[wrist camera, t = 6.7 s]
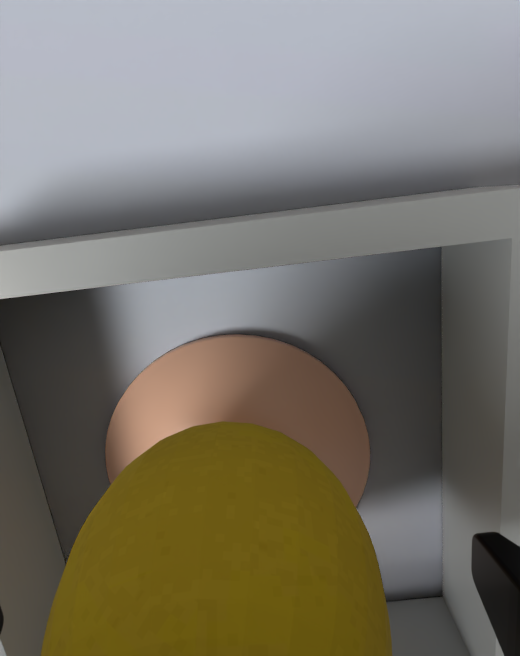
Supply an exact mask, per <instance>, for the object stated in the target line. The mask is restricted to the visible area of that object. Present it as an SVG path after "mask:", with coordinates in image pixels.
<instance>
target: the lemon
mask: <svg viewBox="0 0 520 656" xmlns="http://www.w3.org/2000/svg"><path fill="white" fill-rule="evenodd" d="M41 656H392V640H391V631H390V622H389V615H388V609H387V604H386V598H385V593H384V588H383V584H382V579H381V574H380V569H379V564H378V561H377V557H376V553H375V550H374V546H373V544H372V541H371V538H370V536H369V533H368V531H367V529H366V527H365V525H364V523H363V521H362V519H361V517H360V515H359V513H358V511H357V509H356V508H355V506H354V504H353V502H352V500H351V499H350V497H349V495H348V493H347V491H346V490H345V488H344V486H343V485H342V483H341V482H340V480H339V479H338V478H337V477H336V476H335V475H334V473H333V472H332V471H331V470H330V469H329V468H328V467H327V466H326V465H325V464H324V463H323V462H322V461H321V460H320V459H319V458H318V457H317V456H316V455H315V454H314V453H313V452H312V451H311V450H309V449H308V448H307V447H305V446H304V445H302V444H300V443H298V442H297V441H295V440H293V439H292V438H290V437H288V436H287V435H285V434H283V433H281V432H279V431H276V430H272V429H269V428H266V427H262V426H259V425H256V424H253V423H239V422H225V421H222V422H216V423H210V424H203V425H197V426H192V427H190V428H188V429H185V430H183V431H180V432H178V433H175V434H173V435H171V436H168V437H166V438H164V439H162V440H160V441H159V442H157V443H156V444H155V445H153V446H152V447H151V448H149V449H148V450H147V451H145V452H144V453H142V454H141V455H140V456H138V457H137V458H136V459H135V460H133V461H132V462H131V463H130V464H129V465H127V466H126V467H125V468H124V470H123V471H122V472H121V473H120V474H119V475H118V476H117V478H116V479H115V480H114V482H113V483H112V484H111V485H110V487H109V488H108V489H107V491H106V492H105V493H104V495H103V496H102V497H101V499H100V500H99V501H98V503H97V504H96V505H95V507H94V508H93V510H92V511H91V513H90V514H89V515H88V517H87V519H86V521H85V522H84V524H83V526H82V528H81V529H80V531H79V534H78V536H77V538H76V540H75V543H74V545H73V547H72V550H71V552H70V555H69V558H68V561H67V563H66V566H65V569H64V572H63V574H62V577H61V580H60V583H59V586H58V588H57V591H56V594H55V597H54V600H53V603H52V607H51V611H50V614H49V618H48V621H47V626H46V630H45V635H44V640H43V644H42V650H41Z"/></svg>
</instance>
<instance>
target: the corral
mask: <svg viewBox="0 0 520 656" xmlns="http://www.w3.org/2000/svg"><path fill="white" fill-rule="evenodd" d="M433 247H441V255H442V533H443V597H434V598H424V599H414V600H403V601H393V602H386V604H387V609H388V615H389V622H390V631H391V640H392V656H504V654H503V652H502V649H501V647H500V644H499V642H498V640H497V637H496V635H495V632H494V630H493V627H492V625H491V623H490V620H489V618H488V615H487V613H486V611H485V608H484V606H483V603H482V601H481V598H480V596H479V594H478V591H477V589H476V586H475V584H474V581H473V577H472V572H471V555H472V537H473V535H474V534H476V533H483V532H497V533H500V534H501V535H503V536H504V537H506V538H507V539H509V540H510V541H512V542H513V543H515V544H517V545H518V546H520V185H505V186H486V187H472V188H464V189H456V190H448V191H440V192H432V193H423V194H415V195H407V196H399V197H391V198H383V199H375V200H366V201H358V202H350V203H342V204H334V205H326V206H318V207H309V208H301V209H293V210H285V211H277V212H269V213H261V214H252V215H244V216H236V217H228V218H220V219H212V220H203V221H195V222H187V223H179V224H171V225H163V226H155V227H146V228H138V229H130V230H122V231H114V232H106V233H98V234H89V235H81V236H73V237H65V238H57V239H49V240H41V241H32V242H24V243H16V244H8V245H0V299H5V298H13V297H22V296H30V295H38V294H47V293H55V292H64V291H72V290H80V289H89V288H97V287H105V286H114V285H122V284H131V283H139V282H147V281H156V280H164V279H173V278H181V277H189V276H198V275H206V274H215V273H223V272H231V271H240V270H248V269H257V268H265V267H273V266H282V265H290V264H299V263H307V262H315V261H324V260H332V259H341V258H349V257H357V256H366V255H374V254H382V253H391V252H399V251H408V250H416V249H424V248H433ZM222 421H225V422H239V423H253V424H256V425H259V426H262V427H266V428H269V429H272V430H276V431H279V432H281V433H283V434H285V435H287V436H288V437H290V438H292V439H293V440H295V441H297V442H298V443H300V444H302V445H304V446H305V447H307V448H308V449H309V450H311V451H312V452H313V453H314V454H315V455H316V456H317V457H318V458H319V459H320V460H321V461H322V462H323V463H324V464H325V465H326V466H327V467H328V468H329V469H330V470H331V471H332V472H333V473H334V475H335V476H336V477H337V478H338V479H339V480H340V482H341V483H342V485H343V486H344V488H345V490H346V491H347V493H348V495H349V497H350V499H351V500H352V502H353V504H354V506H355V508H356V507H357V505H358V503H359V501H360V499H361V497H362V495H363V492H364V489H365V486H366V482H367V479H368V473H369V467H370V445H369V437H368V432H367V429H366V425H365V422H364V419H363V417H362V414H361V412H360V410H359V408H358V406H357V403H356V401H355V399H354V398H353V396H352V395H351V393H350V392H349V390H348V389H347V387H346V386H345V384H344V383H343V382H342V381H341V380H340V379H339V378H338V376H337V375H336V374H335V373H334V372H333V371H332V370H330V369H329V368H328V367H327V366H326V365H325V364H324V363H322V362H321V361H319V360H318V359H316V358H315V357H313V356H312V355H310V354H309V353H307V352H305V351H303V350H301V349H299V348H297V347H295V346H293V345H290V344H287V343H284V342H281V341H278V340H275V339H271V338H266V337H261V336H255V335H242V334H233V335H218V336H213V337H207V338H202V339H199V340H195V341H192V342H189V343H186V344H183V345H181V346H179V347H177V348H175V349H173V350H171V351H169V352H167V353H165V354H164V355H162V356H161V357H159V358H158V359H156V360H154V361H153V362H152V363H151V364H150V365H149V366H147V367H146V368H145V369H144V370H143V371H142V372H141V373H140V374H139V375H138V376H137V377H136V378H135V379H134V381H133V382H132V383H131V384H130V385H129V387H128V388H127V390H126V391H125V393H124V394H123V396H122V397H121V399H120V401H119V402H118V404H117V406H116V408H115V411H114V413H113V415H112V417H111V421H110V424H109V428H108V431H107V438H106V445H105V460H106V468H107V474H108V479H109V482H110V485H111V484H112V483H113V482H114V480H115V479H116V478H117V476H118V475H119V474H120V473H121V472H122V471H123V470H124V468H125V467H126V466H127V465H129V464H130V463H131V462H132V461H133V460H135V459H136V458H137V457H138V456H140V455H141V454H142V453H144V452H145V451H147V450H148V449H149V448H151V447H152V446H153V445H155V444H156V443H157V442H159V441H160V440H162V439H164V438H166V437H168V436H171V435H173V434H175V433H178V432H180V431H183V430H185V429H188V428H190V427H192V426H197V425H203V424H210V423H216V422H222ZM65 566H66V563H65V560H64V557H63V553H62V550H61V547H60V543H59V540H58V537H57V533H56V530H55V527H54V523H53V520H52V516H51V513H50V510H49V506H48V503H47V500H46V496H45V493H44V490H43V486H42V483H41V480H40V476H39V473H38V470H37V466H36V463H35V460H34V456H33V453H32V450H31V446H30V443H29V440H28V436H27V433H26V430H25V426H24V423H23V419H22V416H21V413H20V409H19V406H18V403H17V399H16V396H15V393H14V389H13V386H12V383H11V379H10V376H9V373H8V369H7V366H6V363H5V359H4V356H3V353H2V349H1V346H0V606H1V608H2V611H3V615H4V624H3V628H2V632H1V634H0V656H41V650H42V644H43V640H44V635H45V630H46V626H47V621H48V618H49V614H50V611H51V607H52V603H53V600H54V597H55V594H56V591H57V588H58V586H59V583H60V580H61V577H62V574H63V572H64V569H65Z"/></svg>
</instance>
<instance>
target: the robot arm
mask: <svg viewBox="0 0 520 656" xmlns="http://www.w3.org/2000/svg"><path fill="white" fill-rule="evenodd" d="M471 572H472V577H473V581H474V584H475V586H476V589H477V591H478V594H479V596H480V598H481V601H482V603H483V606H484V608H485V611H486V613H487V615H488V618H489V620H490V623H491V625H492V627H493V630H494V632H495V635H496V637H497V640H498V642H499V644H500V647H501V649H502V652H503V654H504V656H520V546H518V545H517V544H515V543H513V542H512V541H510V540H509V539H507V538H506V537H504V536H503V535H501V534H500V533H497V532H483V533H476V534H474V535H473V537H472V555H471ZM3 624H4V615H3V611H2V608H1V606H0V634H1V632H2V628H3Z"/></svg>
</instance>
